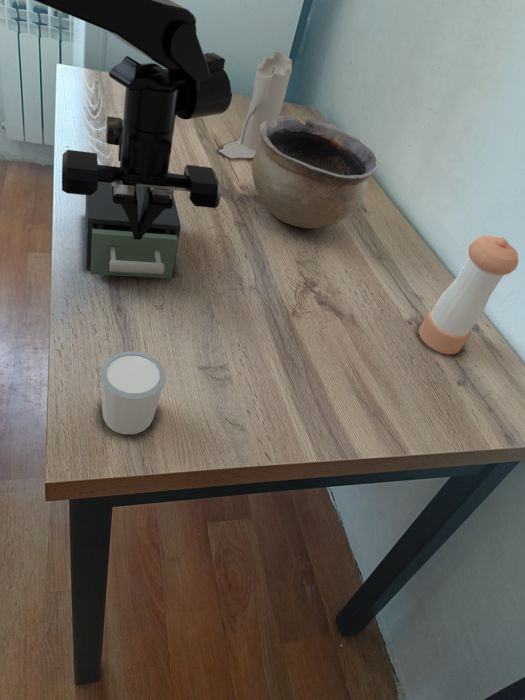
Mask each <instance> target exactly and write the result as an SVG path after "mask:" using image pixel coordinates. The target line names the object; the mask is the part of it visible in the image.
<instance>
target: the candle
mask: <svg viewBox="0 0 525 700" xmlns="http://www.w3.org/2000/svg"><path fill="white" fill-rule="evenodd" d="M272 52H273V53H272V54H271V56H268V55H265V56H264V57H263V58H262V61H260V62H259V63H258V64H257V67H256V74H255V78H254V83H253V90H252V97H251V101H250V104H249V108H248V111H247V114H246V117H245V119H244V123H243V125H242V130H241V134H240V138H239V139H238V140H236V141H232V142H229V143H228V142H227V143H226V144H223V148H220V149H219V150H218V152H219V153H221V154H222V155H224V156H226V157H227V158H230V159H239V158H240V159H253V158H254V155H255V152H256V150H257V147H258V145H259V143H260V142H261V132H260V126H261V124H262V123H263V121H268V123H269V125H270V126H271V127H274V126H275V124H276V123H277V119H278V116H279V115H280V116H281V113H282V109H283V105H284V102H285V98H286V94H287V91H288V87H289V83H290V79H291V76H292V72H293V60H292V59H291V58H290V57H288V56H287V55H286V54H285V53H283V52H281V51H280V50H278V49H274V50H273V51H272Z"/></svg>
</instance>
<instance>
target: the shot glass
mask: <svg viewBox="0 0 525 700" xmlns="http://www.w3.org/2000/svg"><path fill="white" fill-rule="evenodd" d="M166 378H167V377H166V369H165V368H164V367H163V365H162V363H161V362H160V361H159V360H158V359H156V358H155V357H153V356H152V355H150V354H147V353H144V352H142V351H133V350H132V351H130V350H126V351H122V352H117V353H114V354H112V355H111V356H110V357H108V358H106V359H105V360H104V362H103V363H102V365H101V366H100V368H99V385H100V396H101V408H102V419H103V421H104V423H105V425H106V426H107V427H108V428H109V429H110V430H112V431H113V432H115V433H119V434H121V435H136V434H139V433H141V432H142V433H143V432H144V431H145V430H146V429H148V428H149V427H150V426H151V424H152V422H153V421H154V417H155V414H156V411H157V409H158V408H157V407H158V405H159V403H160V399H161V396H162V392H163V389H164V386H165V384H166Z"/></svg>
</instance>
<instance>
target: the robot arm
mask: <svg viewBox="0 0 525 700" xmlns="http://www.w3.org/2000/svg"><path fill="white" fill-rule="evenodd" d="M33 1H34V2H37V3H39V4H41V5H44V6H47V7H49V8H52V9H54V10H56V11H59V12H61V13H64V14H65V15H68V16H71V17H74V18H76V19H78V20H81V21H83V22H85V23H88V24H90V25H93V26H95V27H98V28H100V29H102V30H105V31H107V32H108V33H109V34H111V35H112V36H113V37H115V38H116V39H117V40H119V41H121V42H122V43H124V44H125V45H127V46H128V47H129V48H131V49H133V50H135V51H136V52H138V53H140V54H141V55H143V56H145V57H146V58H148V59H149V60H151V61H152V62H146V63H144V62H143V63H140V62H138V61H136V60H135V59H134V58H132V57H130V56H128V55H126V56H124V58H123V59H122V61H121V62H120V63H118V64H116V65H114V66H113V67H112V68H111V69H110V70H109V72H108V76H109V78H111V79H112V80H114V81H115V82H117V83H118V84H120V85H122V86H123V87H124V88H125V93H124V105H123V118H121V117H116V116H109V115H107V116H106V124H105V125H106V127H105V142H106V144H107V145H112V146H113V145H114V146H118V153H117V159H118V160H117V161H118V162H119V166H114V165H113V166H112V165H104V164H98V153H97V152H90V151H82V150H73V149H67V150H65V151H64V152H63V153H62V157H61V159H62V160H61V191H62V192H64V193H66V194H68V195H69V194H71V195H80V196H86V195H89V196H90V195H92V194H93V193H94V192H96V191H97V188H98V182H105V183H111V189H112V201H113V202H114V203H115V204H120V205H122V207H123V209H124V211H125V213H126V215H127V217H128V220H129V223H130V226H131V229H132V233H133V236H134V239H138V240H141V238H142V237H143V235H144V234H145V233H146V231H147V230H148V228H149V227H150V225H151V224H152V223H153V221H154V220H155V219H156V218H157V217H158V216H159V215H160V214H161V213H162V212H163V211H164V210H165V209H172V208H173V201H172V194H174V192H175V191H178V192H189V196H188V198H189V201H190V202H191V203H192V205H193V206H194V207H201V208H208V209H209V208H210V209H216V208H218V207H219V205H220V201H221V196H222V188H221V184H220V181H219V179H218V176H217V173H216V172H215V170H214V169H213V167H209V166H200V165H193V164H192V165H191V164H186V165H185V166H184V169H183V174H180V173H172V172H171V171H169V170H170V169H169V168H170V162H171V161H170V160H171V153H172V147H173V146H172V145H173V139H174V132H175V124H176V117H177V118H179V119H182V120H193V119H197V118H205V117H210V116H217V115H221V114H223V113H225V112H226V111H227V110H228V109H229V107H230V105H231V103H232V98H233V92H232V86H231V80H230V78H229V75H228V73H227V71H226V70H225V64H226V59H225V58H224V57H223V56H221V55H219V54H218V53H215V52H206V53H204V52H203V49H202V46H201V43H200V40H199V37H198V34H197V24H196V23H197V18H196V17H195V15H194V14H193V13H192V12H191V11H190V10H189V9H187V8H185V7H183V6H181V5H180V4H178V3H176V2H174V1H172V0H33ZM136 186H141V187H145V194H144V200H143V204H142V209H141V213H140V217H139V222H138V202H137V194H136Z"/></svg>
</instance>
